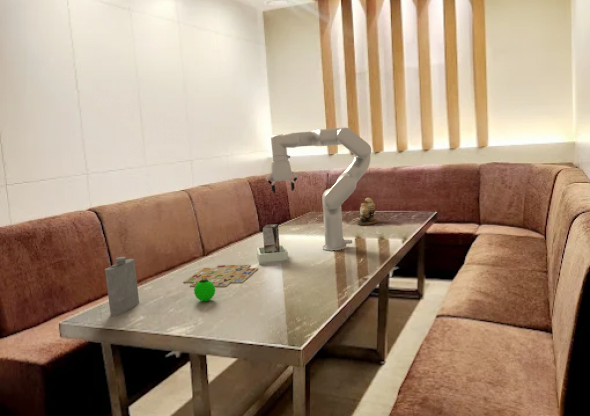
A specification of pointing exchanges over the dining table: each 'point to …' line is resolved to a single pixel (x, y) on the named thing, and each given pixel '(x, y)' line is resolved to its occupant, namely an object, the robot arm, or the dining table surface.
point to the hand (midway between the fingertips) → (283, 191)
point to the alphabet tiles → (222, 275)
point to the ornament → (204, 289)
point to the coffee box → (271, 238)
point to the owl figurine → (367, 213)
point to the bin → (272, 256)
